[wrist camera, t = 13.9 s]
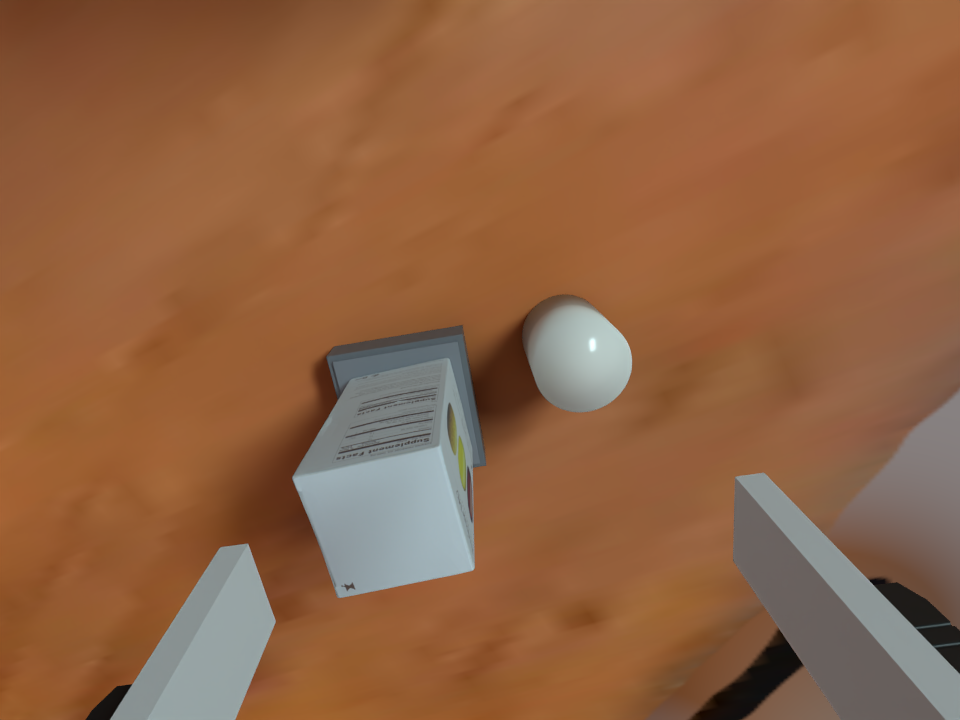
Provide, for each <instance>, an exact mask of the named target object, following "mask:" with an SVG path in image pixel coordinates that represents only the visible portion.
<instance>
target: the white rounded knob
mask: <svg viewBox="0 0 960 720" xmlns="http://www.w3.org/2000/svg"><path fill="white" fill-rule="evenodd" d="M522 343H523V347H524V350H525V353H526V356H527V359H528V361H529V364H530V367H531V370H532V373H533V376H534V379H535V381H536V384H537V387H538V389H539V390H540V392H541V393H542V395H543V396H544V397H545V398H546V399H547V400H548V401H549V402H550V403H551V404H553V405H555V406H556V407H558V408H561V409H563V410H566V411H571V412H588V411H593V410H596V409H599V408H601V407H603V406H605V405H607V404H609V403H610V402H612V401H613V400H614V399H615V398H616V397H617V396H618V395H619V394H620V393H621V392H622V390H623V389H624V388H625V386H626V384H627V382H628V380H629V377H630V374H631V369H632V356H631V351H630V348H629V345H628V343H627V341H626V340H625V338H624V337H623V335H622V334H621V333H620V332H619V331H618V330H617V329H616V328H615V327H614V326H613V325H612V324H611V323H610V322H609V321H608V320H607V319H606V318H605V317H604V316H603V315H602V314H601V313H600V312H599V311H598V310H597V309H596V308H595V307H594V306H593V305H591V304H590V303H589V302H588V301H586V300H585V299H583V298H580V297H577V296H574V295H556V296H552V297H549V298H547V299H545V300H543V301H542V302H540V303H539V304H537V305H536V306H535V307H534V308H533V309H532V310H531V312H530V313H529V314H528V316H527V318H526V320H525V322H524V325H523V330H522Z"/></svg>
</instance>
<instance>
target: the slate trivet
mask: <svg viewBox="0 0 960 720" xmlns="http://www.w3.org/2000/svg"><path fill="white" fill-rule="evenodd" d="M443 358H449V359H450V362H451V366H452V369H453V373H454V377H455V381H456V385H457V389H458V393H459V396H460V400H461V404H462V408H463V412H464V416H465V421H466V425H467V429H468V433H469V437H470V441H471V445H472V456H473V467H479V466H486V456H485V447H484V441H483V436H482V430H481V425H480V419H479V414H478V408H477V403H476V397H475V392H474V386H473V381H472V375H471V370H470V364H469V359H468V353H467V348H466V342H465V336H464V331H463V325H461V326H455V327H449V328H443V329H437V330H431V331H425V332H419V333H413V334H407V335H401V336H395V337H389V338H383V339H377V340H371V341H365V342H359V343H353V344H347V345H341V346H335V347H334V348H333V349H332V350H331V351H330V353H329V354H328V355H327V361H328V365H329V369H330V372H331V376H332V380H333V383H334V387H335V391H336V394H337V398H338V399H339V398H340V396H341V394H342V393H343V391H344V389H345V388H346V386H347V384H348V383H349V381H350V380H351V379H353V378H358V377H363V376H367V375H371V374H375V373H380V372H384V371H389V370H393V369H398V368H402V367H407V366H411V365H415V364H420V363H424V362H429V361H433V360H438V359H443Z"/></svg>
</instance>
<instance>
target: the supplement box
mask: <svg viewBox="0 0 960 720" xmlns="http://www.w3.org/2000/svg"><path fill="white" fill-rule="evenodd" d="M292 480H293V482H294V485H295V487H296V489H297V491H298V493H299V496H300V499H301V501H302V503H303V506H304V508H305V511H306V513H307V515H308V518H309V520H310V523H311V525H312V528H313V530H314V533H315V535H316V538H317V540H318V543H319V545H320V548H321V551H322V553H323V556H324V559H325V562H326V565H327V568H328V570H329V573H330V576H331V579H332V582H333V585H334V588H335V592H336V595H337V597H338V598H342V597H348V596H353V595H358V594H363V593H368V592H373V591H377V590H382V589H387V588H392V587H397V586H402V585H406V584H411V583H416V582H421V581H426V580H431V579H436V578H441V577H446V576H451V575H456V574H460V573H464V572H469V571H472V570H474V569H475V564H474V517H473V456H472V445H471V441H470V437H469V433H468V429H467V425H466V421H465V416H464V412H463V408H462V404H461V400H460V396H459V393H458V389H457V385H456V381H455V377H454V373H453V369H452V366H451V362H450V359H449V358H443V359H438V360H433V361H429V362H424V363H420V364H415V365H411V366H407V367H402V368H398V369H393V370H389V371H384V372H380V373H375V374H371V375H367V376H363V377H358V378H353V379H351V380H350V381H349V383H348V384H347V386H346V388H345V389H344V391H343V393H342V394H341V396H340V398H339V399H338V401H337V403H336V405H335V406H334V408H333V409H332V411H331V413H330V415H329V417H328V418H327V420H326V421H325V423H324V425H323V426H322V428H321V430H320V431H319V433H318V435H317V437H316V438H315V440H314V442H313V443H312V445H311V447H310V448H309V450H308V451H307V453H306V455H305V456H304V458H303V460H302V461H301V463H300V465H299V466H298V468H297V470H296V471H295V473H294V475H293V476H292Z"/></svg>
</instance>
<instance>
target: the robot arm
mask: <svg viewBox="0 0 960 720" xmlns="http://www.w3.org/2000/svg"><path fill="white" fill-rule="evenodd" d="M733 561H734V563H735V564H736V566H737V567H738V569H739V570H740V572H741V573H742V575H743V576H744V577H745V579H746V580H747V582H748V583H749V585H750V586H751V588H752V589H753V591H754V592H755V594H756V595H757V597H758V598H759V600H760V601H761V603H762V604H763V605H764V607H765V608H766V610H767V611H768V613H769V614H770V616H771V617H772V619H773V620H774V622H775V623H776V625H777V626H778V628H779V629H780V631H781V632H782V634H783V635H784V636H785V638H786V639H787V641H788V642H789V644H790V645H791V647H792V648H793V650H794V651H795V653H796V654H797V656H798V657H799V659H800V660H801V662H802V663H803V664H804V666H805V667H806V669H807V670H808V672H809V673H810V675H811V676H812V678H813V679H814V681H815V682H816V684H817V685H818V687H819V688H820V690H821V691H822V692H823V694H824V695H825V697H826V698H827V700H828V701H829V703H830V704H831V706H832V707H833V709H834V710H835V712H836V713H837V715H838V716H839V718H840V719H841V720H960V631H959V630H958V629H957V628H956V627H955V626H952V625H951V624H950V621H949V620H948V619H947V618H946V617H945V616H944V615H942V614H941V613H940V612H939V611H938V610H937V609H936V608H935V607H934V606H933V605H932V604H931V603H930V602H929V601H927V600H926V599H925V598H923V597H921V596H919V595H918V594H916V593H914V592H913V591H911V590H909V589H907V588H906V587H904V586H902V585H901V584H899V583H897V582H896V583H889V584H881V585H873V584H872V583H871V582H870V581H869V580H868V579H867V578H866V577H865V576H864V575H863V574H862V573H861V572H860V571H859V570H858V569H857V568H856V567H855V566H854V565H853V564H852V563H851V562H850V561H849V560H848V559H847V558H846V557H845V556H844V555H843V553H842V552H841V551H839V549H838V548H837V547H836V546H835V545H834V544H833V543H832V542H831V541H830V540H829V539H828V538H827V537H826V536H825V535H824V534H823V533H822V532H821V531H820V530H819V529H818V528H817V527H816V526H815V525H814V524H813V523H812V522H811V521H810V520H809V519H808V517H807V516H806V515H805V514H804V513H803V512H802V511H801V510H800V509H799V508H798V507H797V506H796V505H795V504H794V503H793V502H792V501H791V500H790V499H789V498H788V497H787V496H786V495H785V494H784V493H783V492H782V491H781V490H780V489H779V488H778V487H777V486H776V485H775V484H774V483H773V482H772V480H771V479H770V478H769V477H768V476H767V475H766V474H765V473H760V474H752V475H745V476H738V477H735V500H734V544H733ZM275 622H276V621H275V618H274V615H273V613H272V610H271V607H270V604H269V601H268V599H267V596H266V593H265V590H264V587H263V584H262V582H261V579H260V576H259V573H258V570H257V567H256V565H255V562H254V559H253V556H252V553H251V551H250V548H249V545H248V544H241V545H234V546H226V547H220V548H219V550H218V552H217V553H216V555H215V556H214V558H213V559H212V561H211V563H210V564H209V566H208V567H207V569H206V570H205V572H204V573H203V575H202V577H201V578H200V580H199V581H198V583H197V584H196V586H195V588H194V589H193V591H192V592H191V594H190V595H189V597H188V598H187V600H186V602H185V603H184V605H183V606H182V608H181V609H180V611H179V613H178V614H177V616H176V617H175V619H174V620H173V622H172V623H171V625H170V627H169V628H168V630H167V631H166V633H165V634H164V636H163V638H162V639H161V641H160V642H159V644H158V645H157V647H156V648H155V650H154V652H153V653H152V655H151V656H150V658H149V659H148V661H147V663H146V664H145V666H144V667H143V669H142V670H141V672H140V673H139V675H138V677H137V678H136V680H135V681H134V683H133V684H131V685H123V686H117V687H116V688H115V689H114V690H113V691H112V692H111V693H110V694H108V695H107V696H106V697H105V698H104V699H103V700H102V701H101V702H100V703H99V704H98V705H97V706H96V707H95V708H94V709H93V710H92V711H91V713H90V714H89V716H88V717H87V719H86V720H235V719H236V716H237V714H238V711H239V709H240V707H241V704H242V702H243V699H244V697H245V695H246V692H247V690H248V687H249V685H250V682H251V680H252V678H253V675H254V673H255V670H256V668H257V666H258V663H259V661H260V658H261V656H262V653H263V651H264V649H265V646H266V644H267V641H268V639H269V637H270V634H271V632H272V629H273V627H274V625H275Z"/></svg>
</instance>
